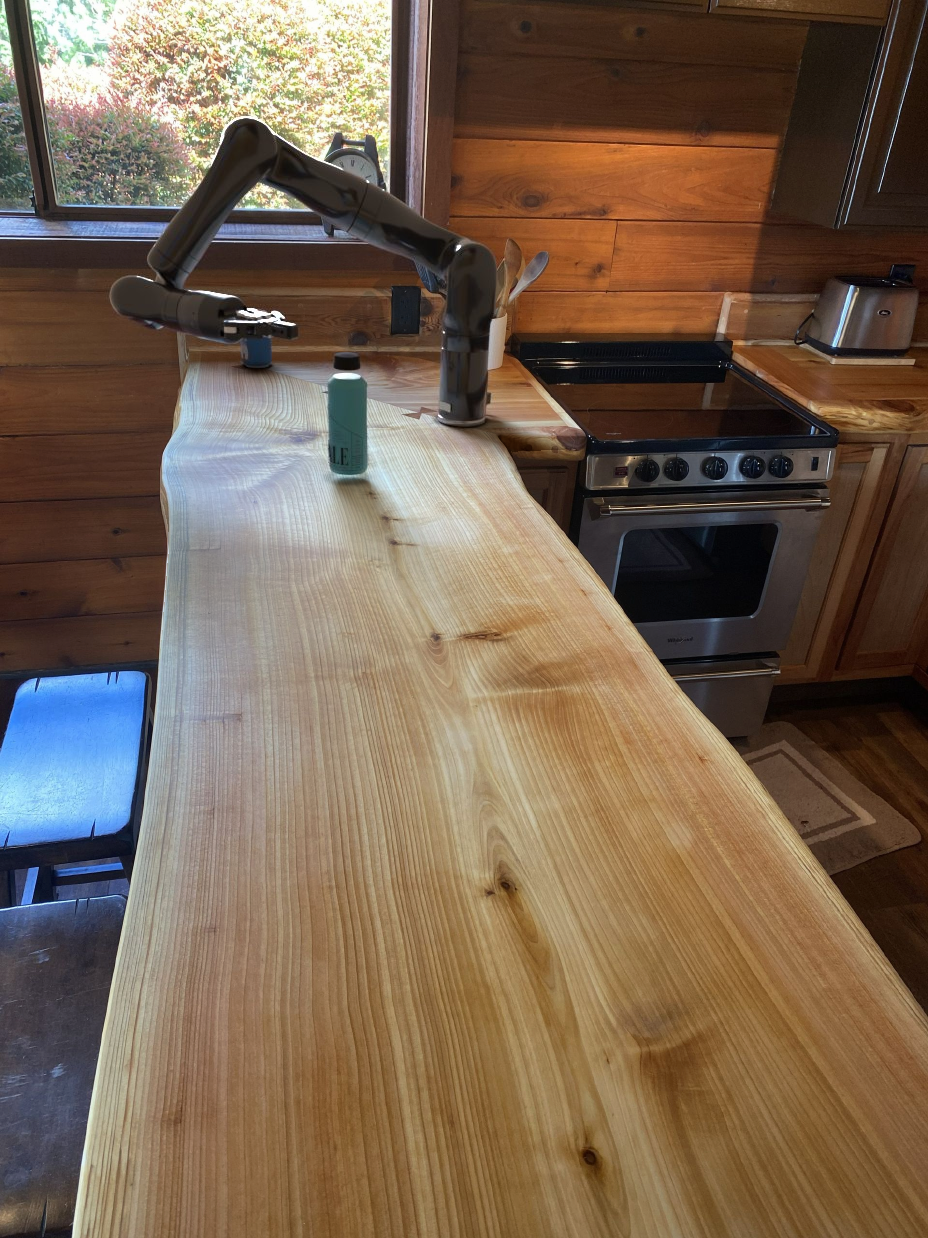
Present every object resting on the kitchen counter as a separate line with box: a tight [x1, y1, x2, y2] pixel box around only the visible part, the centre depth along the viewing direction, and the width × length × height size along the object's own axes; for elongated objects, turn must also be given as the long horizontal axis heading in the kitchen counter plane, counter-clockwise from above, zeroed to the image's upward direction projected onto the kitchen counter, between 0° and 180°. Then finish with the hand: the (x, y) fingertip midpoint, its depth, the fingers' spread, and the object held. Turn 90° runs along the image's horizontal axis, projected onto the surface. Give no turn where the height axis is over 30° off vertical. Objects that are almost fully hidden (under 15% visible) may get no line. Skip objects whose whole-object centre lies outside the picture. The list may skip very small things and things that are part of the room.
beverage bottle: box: [326, 351, 369, 476], centre depth 142 cm, size 6×7×20 cm
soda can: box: [239, 308, 273, 369], centre depth 207 cm, size 7×7×12 cm
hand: (295, 332), depth 141 cm, fingers closed
